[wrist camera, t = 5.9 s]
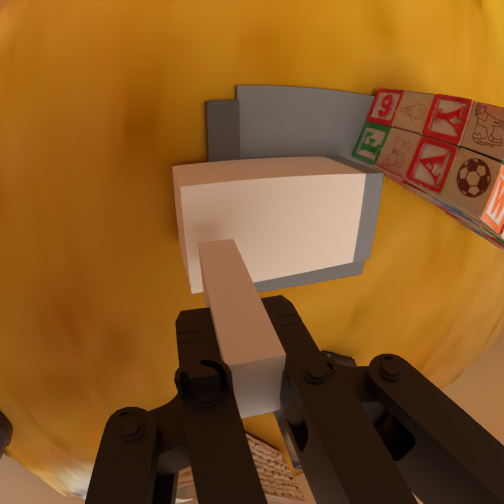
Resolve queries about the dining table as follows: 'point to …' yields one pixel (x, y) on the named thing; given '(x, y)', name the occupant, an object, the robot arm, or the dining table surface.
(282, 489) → the storage basket
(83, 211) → the dining table surface
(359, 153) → the stack of blocks
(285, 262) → the tall block
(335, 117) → the pad
